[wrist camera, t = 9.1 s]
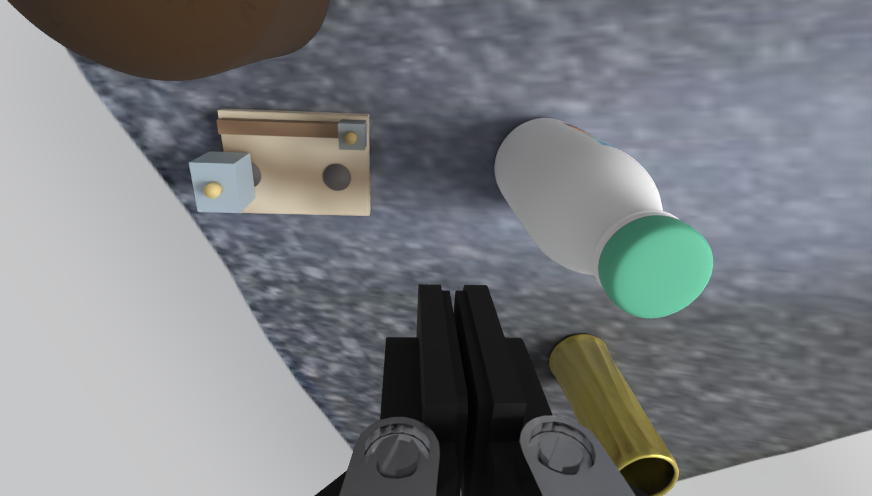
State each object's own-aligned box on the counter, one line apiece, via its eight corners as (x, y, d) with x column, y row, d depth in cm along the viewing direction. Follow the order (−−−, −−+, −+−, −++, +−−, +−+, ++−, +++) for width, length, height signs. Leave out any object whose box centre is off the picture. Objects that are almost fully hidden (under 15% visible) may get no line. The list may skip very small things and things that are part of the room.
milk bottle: (497, 214, 39) (577, 362, 21) (488, 125, 36) (572, 208, 18) (584, 199, 39) (742, 335, 21) (583, 108, 36) (767, 174, 17)
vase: (599, 381, 47) (672, 507, 35) (543, 380, 47) (595, 508, 34) (613, 333, 45) (696, 450, 32) (554, 332, 44) (614, 450, 31)
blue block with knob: (209, 151, 34) (183, 165, 30) (250, 152, 34) (229, 166, 30) (216, 196, 35) (192, 215, 31) (255, 197, 35) (236, 216, 32)
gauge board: (223, 108, 34) (195, 118, 29) (369, 114, 35) (363, 124, 30) (237, 207, 37) (214, 230, 33) (370, 210, 38) (365, 233, 33)
